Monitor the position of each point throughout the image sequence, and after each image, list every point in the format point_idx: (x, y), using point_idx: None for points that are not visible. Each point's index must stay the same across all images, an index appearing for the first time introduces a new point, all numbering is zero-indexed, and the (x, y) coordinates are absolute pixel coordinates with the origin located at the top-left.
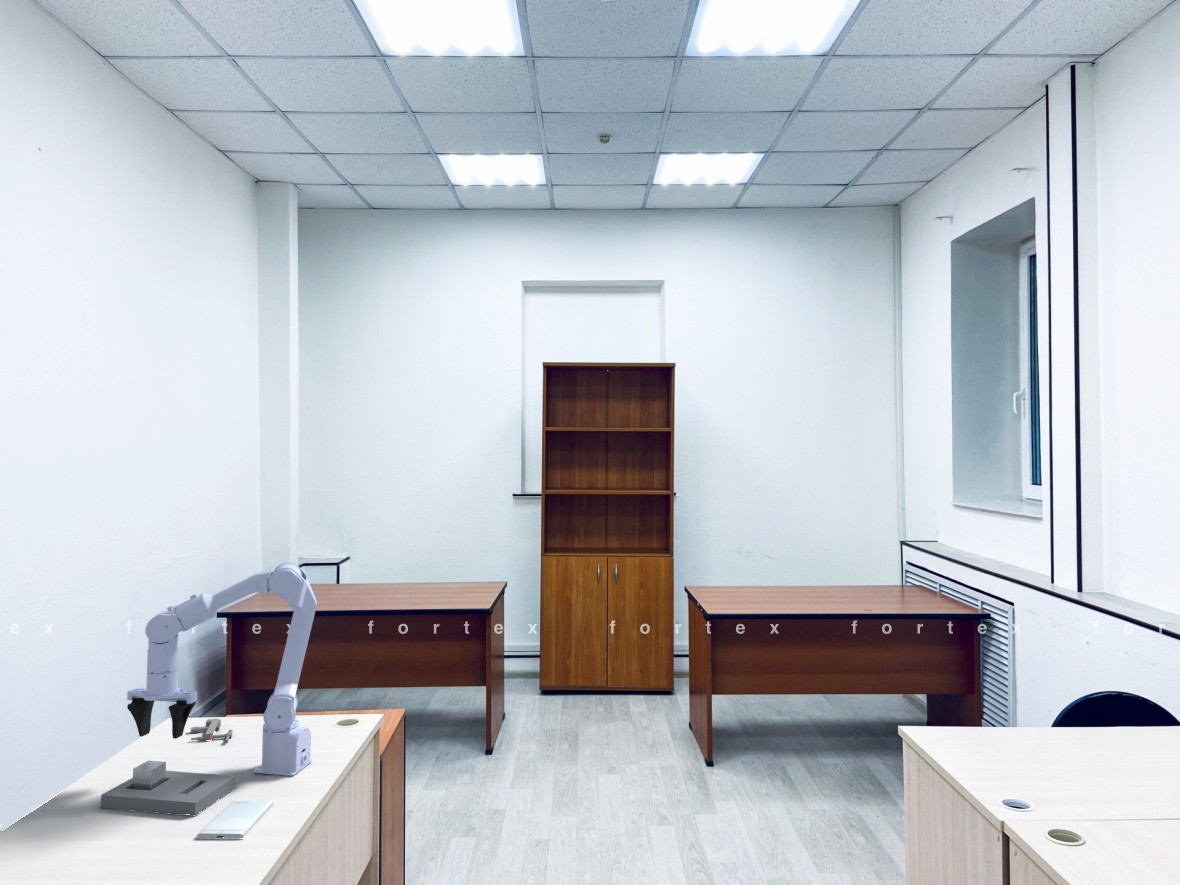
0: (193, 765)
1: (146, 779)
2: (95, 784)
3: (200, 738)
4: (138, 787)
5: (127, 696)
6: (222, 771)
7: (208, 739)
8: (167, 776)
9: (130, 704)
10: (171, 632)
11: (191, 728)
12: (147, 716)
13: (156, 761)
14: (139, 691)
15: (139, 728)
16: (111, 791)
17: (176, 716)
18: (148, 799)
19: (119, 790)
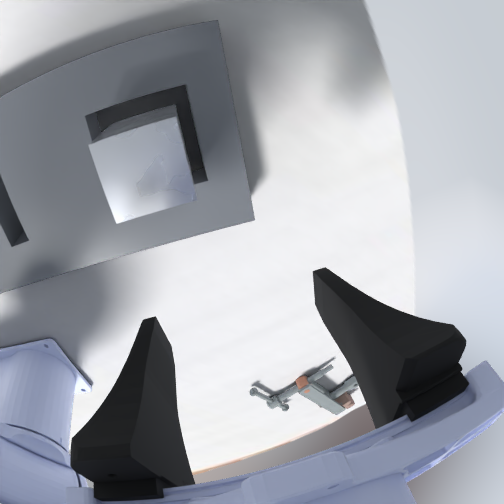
0: (220, 312)
1: (115, 129)
2: (366, 138)
3: (315, 375)
4: (151, 114)
5: (497, 376)
6: (120, 320)
7: (300, 380)
8: None
9: (453, 352)
10: None
11: None
12: (352, 352)
13: (154, 208)
14: (456, 443)
15: (338, 286)
16: (207, 49)
17: (106, 408)
18: (35, 78)
19: (187, 66)
